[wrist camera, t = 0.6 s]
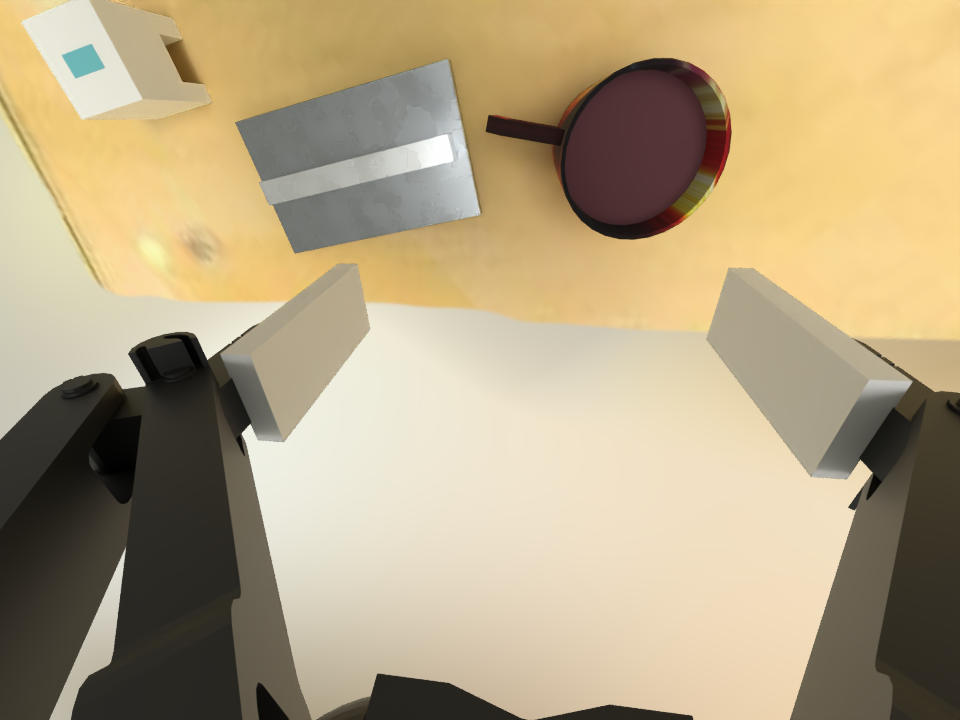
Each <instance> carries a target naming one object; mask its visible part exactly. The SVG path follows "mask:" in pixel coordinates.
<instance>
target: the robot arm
mask: <svg viewBox="0 0 960 720" xmlns="http://www.w3.org/2000/svg"><path fill="white" fill-rule="evenodd" d="M369 330H370V326H369V321H368V315H367V310H366V305H365V300H364V295H363V290H362V285H361V280H360V275H359V270H358V265H357V264H337V265H336V266H334V267H333V268H332V269H331V270H329V271H328V272H327V273H325V274H324V275H323V276H321V277H320V278H319V279H317V280H316V281H315V282H313V283H312V284H311V285H310V286H308V287H307V288H306V289H304V290H303V291H302V292H300V293H299V294H298V295H296V296H295V297H294V298H293V299H291V300H290V301H289V302H287V303H286V304H285V305H283V306H282V307H281V308H280V309H278V310H277V311H275V312H274V313H273V314H272V315H270V316H269V317H268V318H266V319H265V320H264V321H262V322H261V323H259V324H257V325H255V326H252V327H251V328H249V329H248V330H247V331H245V332H244V333H243V334H242V335H241V337H238V338H236V339H235V340H234V341H232V344H228V345H227V346H226V347H224V348H223V349H222V350H220V351H219V352H218V353H216V354H215V355H214V356H212V357H211V358H210V359H208V360H207V358H206V356H205V354H204V352H203V350H202V348H201V346H200V343H199V341H198V339H197V337H196V336H195V335H194V334H193V333H189V332H175V333H170V334H164V335H161V336H157V337H154V338H151V339H148V340H146V341H144V342H141V343H140V344H138V345H137V346H135V347H134V348H132V349H131V351H130V352H129V353H128V354H129V356H130V358H131V360H132V361H133V363H134V365H135V366H136V368H137V370H138V371H139V373H140V375H141V377H142V378H143V380H144V382H145V383H146V386H145V387H138V388H130V389H122V388H121V386H120V385H119V383H118V381H117V380H116V378H115V377H114V376H113V375H112V374H107V373H100V374H91V375H87V376H79V377H75V378H74V379H70V380H67V381H65V382H63V384H61V385H59V386H57V387H55V388H53V389H52V390H51V391H49V392H48V393H47V394H45V395H44V396H43V397H42V398H41V399H40V400H39V401H38V402H37V403H36V404H35V405H34V406H33V407H32V409H30V410H29V411H28V412H27V414H25V416H23V417H22V418H21V420H19V421H18V423H17V424H16V425H15V426H14V427H13V428H12V429H11V430H10V431H9V432H8V433H7V434H6V435H5V436H4V437H3V438H2V439H1V440H0V720H49V719H50V716H51V714H52V712H53V710H54V708H55V705H56V703H57V701H58V699H59V696H60V694H61V692H62V690H63V687H64V685H65V683H66V681H67V678H68V676H69V674H70V671H71V669H72V667H73V665H74V662H75V660H76V658H77V656H78V653H79V651H80V649H81V647H82V644H83V642H84V640H85V637H86V635H87V633H88V631H89V628H90V626H91V624H92V622H93V620H94V617H95V615H96V613H97V611H98V608H99V606H100V604H101V601H102V599H103V597H104V595H105V592H106V590H107V588H108V586H109V583H110V581H111V579H112V577H113V574H114V572H115V570H116V567H117V565H118V563H119V561H120V559H121V556H122V554H123V552H124V550H125V547H126V553H125V562H124V570H123V578H122V586H121V594H120V603H119V611H118V619H117V628H116V636H115V644H114V652H113V656H112V661H111V663H110V664H109V665H108V666H107V667H105V668H103V669H101V670H99V671H97V672H95V673H93V674H91V675H89V676H88V678H87V679H86V680H85V682H84V683H83V684H82V686H81V687H80V688H79V691H78V694H77V698H76V701H75V704H74V707H73V711H72V717H71V720H311V717H310V714H309V710H308V708H307V705H306V702H305V700H304V697H303V694H302V692H301V689H300V686H299V683H298V679H297V675H296V670H295V666H294V661H293V657H292V652H291V648H290V643H289V638H288V634H287V629H286V625H285V620H284V615H283V611H282V606H281V602H280V597H279V592H278V588H277V583H276V579H275V574H274V570H273V565H272V560H271V556H270V552H269V547H268V542H267V537H266V533H265V528H264V524H263V519H262V515H261V510H260V505H259V501H258V497H257V492H256V487H255V483H254V479H253V473H252V469H251V464H250V460H249V455H248V450H247V446H246V442H245V440H244V438H243V436H242V434H241V433H242V432H243V431H244V430H245V429H246V428H247V426H249V425H250V424H251V426H252V428H253V430H254V432H255V435H256V437H257V439H258V440H262V441H276V442H284V441H285V440H286V439H287V438H288V436H289V435H290V434H291V432H292V431H293V429H294V428H295V427H296V426H297V424H298V423H299V422H300V420H301V419H302V418H303V417H304V415H305V414H306V413H307V411H308V410H309V409H310V407H311V406H312V405H313V404H314V402H315V401H316V399H317V398H318V397H319V396H320V394H321V393H322V392H323V390H324V389H325V388H326V386H327V385H328V384H329V383H330V381H331V380H332V379H333V377H334V376H335V375H336V373H337V372H338V371H339V369H340V368H341V367H342V365H343V364H344V363H345V361H346V360H347V359H348V358H349V356H350V355H351V354H352V352H353V351H354V349H355V348H356V347H357V346H358V344H359V343H360V342H361V341H362V339H363V338H364V337H365V335H366V334H367V333H368V331H369ZM707 341H708V342H709V343H710V345H711V346H712V347H713V349H714V350H715V352H716V353H717V354H718V355H719V357H720V358H721V359H722V361H723V362H724V363H725V364H726V366H727V367H728V369H729V370H730V371H731V373H732V374H733V375H734V377H735V378H736V379H737V380H738V382H739V383H740V384H741V385H742V387H743V388H744V390H745V391H746V392H747V394H748V395H749V396H750V398H751V399H752V400H753V401H754V403H755V404H756V405H757V407H758V408H759V409H760V411H761V412H762V413H763V415H764V416H765V417H766V419H767V420H768V421H769V422H770V424H771V425H772V426H773V428H774V429H775V430H776V432H777V433H778V434H779V436H780V437H781V438H782V440H783V441H784V442H785V444H786V445H787V446H788V447H789V449H790V450H791V451H792V453H793V454H794V455H795V457H796V458H797V459H798V461H799V462H800V463H801V464H802V466H803V467H804V469H805V470H806V471H807V473H808V474H809V475H810V477H819V478H834V479H847V478H848V477H849V475H850V474H851V473H852V471H853V470H854V468H855V467H856V465H857V464H858V462H859V461H860V460H861V461H863V463H864V464H865V465H866V466H867V467H868V468H869V469H870V470H871V471H872V472H873V473H872V475H871V476H870V477H869V479H868V480H867V482H866V483H865V484H864V486H863V487H862V489H861V490H860V492H859V493H858V494H857V496H856V497H855V498H854V500H853V501H852V503H851V504H850V505H849V507H848V508H850V509H852V510H855V509H856V508H857V509H856V512H855V515H854V518H853V522H852V525H851V528H850V531H849V534H848V537H847V541H846V544H845V547H844V550H843V553H842V556H841V560H840V563H839V566H838V569H837V572H836V576H835V579H834V582H833V585H832V588H831V591H830V595H829V598H828V601H827V604H826V607H825V610H824V614H823V617H822V620H821V623H820V627H819V629H818V633H817V636H816V639H815V642H814V645H813V648H812V652H811V655H810V658H809V661H808V664H807V667H806V671H805V674H804V677H803V680H802V683H801V687H800V690H799V693H798V696H797V699H796V702H795V706H794V709H793V712H792V715H791V718H790V720H960V393H954V392H944V391H940V392H934V391H932V390H931V389H930V388H928V387H927V386H925V385H924V384H922V383H921V382H919V381H918V380H917V379H915V378H914V377H912V376H911V375H909V374H908V373H907V372H905V371H904V370H902V369H901V368H899V367H897V366H894V365H895V364H894V363H892V362H891V361H889V360H888V359H887V358H885V357H881V354H879V353H878V352H876V351H875V350H874V349H872V348H871V347H869V346H868V345H866V344H864V343H862V342H860V341H858V340H855V339H853V338H851V337H849V336H848V335H847V334H845V333H844V332H842V331H841V330H840V329H838V328H837V327H835V326H834V325H832V324H831V323H830V322H828V321H827V320H825V319H824V318H823V317H821V316H820V315H818V314H817V313H816V312H814V311H813V310H811V309H810V308H808V307H807V306H806V305H804V304H803V303H801V302H800V301H799V300H797V299H796V298H794V297H793V296H792V295H790V294H789V293H787V292H786V291H784V290H783V289H782V288H780V287H779V286H777V285H776V284H775V283H773V282H772V281H770V280H769V279H768V278H766V277H765V276H763V275H762V274H760V273H759V272H758V271H756V270H755V269H753V268H729V269H728V272H727V275H726V278H725V282H724V285H723V288H722V291H721V294H720V298H719V301H718V304H717V307H716V310H715V313H714V317H713V320H712V323H711V326H710V329H709V333H708V336H707ZM317 720H526V719H521V718H519V717H517V716H515V715H513V714H511V713H509V712H507V711H505V710H503V709H501V708H499V707H497V706H495V705H493V704H491V703H489V702H487V701H485V700H483V699H480V698H479V697H476V696H474V695H472V694H470V693H468V692H466V691H464V690H462V689H460V688H458V687H456V686H454V685H452V684H450V683H444V682H437V681H430V680H422V679H414V678H407V677H399V676H391V675H385V674H377V676H376V680H375V683H374V687H373V691H372V694H371V696H370V697H366V698H362V699H359V700H356V701H353V702H351V703H348V704H345V705H342V706H341V707H338V708H337V709H335V710H333V711H331V712H329V713H327V714H325V715H323V716H321V717H320V718H319V719H317ZM537 720H693V717H692V716H690V715H682V714H675V713H668V712H660V711H653V710H645V709H638V708H631V707H623V706H615V705H606V706H601V707H596V708H591V709H586V710H581V711H576V712H571V713H566V714H562V715H557V716H552V717H547V718H542V719H537Z"/></svg>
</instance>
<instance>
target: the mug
mask: <svg viewBox="0 0 960 720" xmlns="http://www.w3.org/2000/svg"><path fill="white" fill-rule="evenodd" d="M486 132H488V133H493V134H497V135H501V136H507V137H512V138H518V139H524V140H529V141H535V142H541V143H546V144H552V145H554V146H553V157H554V165H555V169H556V172H557V175H558V178H559V180H560V183H561V186H562V188H563V191H564V193H565V196H566V198H567V200H568V202H569V204H570V206H571V208H572V210H573V211H574V212H575V213H576V215H577V216H578V217H579V218H580V220H581V221H582V222H584V223H585V224H586V225H587V226H589V227H590V228H591V229H592V230H594V231H596V232H599V233H601V234H603V235H605V236H608V237H613V238H617V239H630V240H634V239H641V238H648V237H651V236H654V235H657V234H660V233H663V232H665V231H667V230H669V229H671V228H673V227H675V226H676V225H678V224H680V223H681V222H682V221H684V220H685V219H686V218H688V217H689V216H690V215H692V214H693V213H694V212H695V211H696V210H697V209H698V208H699V207H700V206H701V204H702V203H703V202H704V201H705V200H706V199H707V197H708V196H709V194H710V193H711V192H712V190H713V189H714V187H715V186H716V184H717V182H718V180H719V178H720V176H721V174H722V172H723V170H724V167H725V164H726V161H727V157H728V154H729V150H730V141H731V133H732V132H731V120H730V113H729V109H728V106H727V103H726V100H725V97H724V95H723V94H722V92H721V90H720V88H719V87H718V85H717V83H716V82H715V81H714V80H713V79H712V78H711V77H710V76H709V75H708V74H707V73H706V72H705V71H703V70H702V69H700V68H698V67H696V66H694V65H693V64H691V63H689V62H685V61H681V60H677V59H673V58H653V59H648V60H644V61H640V62H635V63H633V64H631V65H629V66H627V67H624V68H622V69H620V70H618V71H616V72H614V73H613V74H611V75H609V76H607V77H606V78H604V79H602V80H600V81H599V82H597V83H595V84H594V85H592V86H590V87H589V88H587V89H586V90H585V91H583V92H582V93H580V94H579V95H578V96H577V97H576V99H575V100H574V101H573V102H572V103H571V104H570V105H569V107H568V108H567V110H566V111H565V113H564V114H563V116H562V118H561V120H560V122H559V125H558V127H556V126H550V125H544V124H538V123H533V122H527V121H521V120H516V119H510V118H506V117H502V116H498V115H489V116H488V122H487V127H486Z"/></svg>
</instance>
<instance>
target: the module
mask: <svg viewBox="0 0 960 720" xmlns="http://www.w3.org/2000/svg"><path fill="white" fill-rule="evenodd" d="M21 23H22V24H23V26H24V27H25V29H26V31H27V32H28V34H29V35H30V37H31V39H32V40H33V42H34V44H35V45H36V47H37V48H38V50H39V52H40V53H41V55H42V56H43V58H44V60H45V61H46V63H47V64H48V66H49V68H50V69H51V71H52V73H53V74H54V76H55V77H56V79H57V81H58V82H59V84H60V85H61V87H62V89H63V90H64V92H65V93H66V95H67V97H68V98H69V100H70V102H71V103H72V105H73V106H74V108H75V110H76V111H77V113H78V114H79V116H80V118H81V119H82V120H132V119H163V118H166V117H169V116H172V115H175V114H178V113H182V112H185V111H188V110H191V109H194V108H197V107H201V106H204V105H207V104H210V103H213V102H212V100H211V98H210V96H209V94H208V92H207V89H206V87H205V85H204V84H197V83H187V82H182V79H181V77H180V75H179V73H178V71H177V69H176V67H175V65H174V63H173V61H172V59H171V57H170V55H169V53H168V51H167V49H166V47H165V46H166V45H169V44H172V43H174V42H177V41H180V40H183V38H182V36H181V34H180V32H179V30H178V28H177V25H176V23H175V21H174V19H173V18H170V17H166V16H163V15H159V14H156V13H152V12H148V11H145V10H141V9H137V8H134V7H130V6H127V5H123V4H119V3H116V2H112V1H109V0H71V1H69V2H66V3H64V4H62V5H59V6H57V7H54V8H52V9H50V10H47V11H45V12H43V13H40V14H38V15H35V16H33V17H31V18H28V19H26V20H24V21H21Z"/></svg>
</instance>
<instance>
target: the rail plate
mask: <svg viewBox="0 0 960 720" xmlns="http://www.w3.org/2000/svg"><path fill="white" fill-rule="evenodd" d="M235 123H236V125H237V127H238V129H239V132H240V134H241V136H242V138H243V140H244V143H245V145H246V147H247V149H248V151H249V154H250V156H251V158H252V160H253V162H254V165H255V167H256V169H257V171H258V173H259V176H260V178H261V180H262V182H259V184H260V186H261V188H262V190H263V193H264V195H265V197H266V199H267V201H268V204H269V205H273V206H274V209H275V211H276V213H277V215H278V217H279V220H280V222H281V224H282V226H283V228H284V231H285V233H286V235H287V237H288V239H289V242H290V244H291V246H292V248H293V250H294V253H299V252H304V251H309V250H314V249H319V248H323V247H328V246H333V245H338V244H343V243H347V242H352V241H357V240H362V239H367V238H372V237H376V236H381V235H386V234H391V233H396V232H400V231H405V230H410V229H415V228H420V227H425V226H429V225H434V224H439V223H444V222H449V221H453V220H458V219H463V218H468V217H473V216H478V215H481V213H482V212H481V207H480V202H479V198H478V193H477V188H476V183H475V178H474V173H473V168H472V164H471V159H470V154H469V149H468V144H467V139H466V135H465V130H464V125H463V120H462V115H461V110H460V105H459V101H458V96H457V91H456V86H455V81H454V76H453V72H452V67H451V62H450V60H449V59H446V60H442V61H439V62H436V63H432V64H429V65H426V66H422V67H419V68H416V69H412V70H409V71H406V72H402V73H399V74H396V75H392V76H389V77H386V78H382V79H379V80H376V81H372V82H369V83H365V84H362V85H359V86H355V87H352V88H349V89H345V90H342V91H339V92H335V93H332V94H329V95H325V96H322V97H319V98H315V99H312V100H309V101H305V102H302V103H299V104H295V105H292V106H289V107H285V108H282V109H279V110H275V111H272V112H269V113H265V114H262V115H259V116H255V117H252V118H249V119H245V120H242V121H238V122H235Z"/></svg>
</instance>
